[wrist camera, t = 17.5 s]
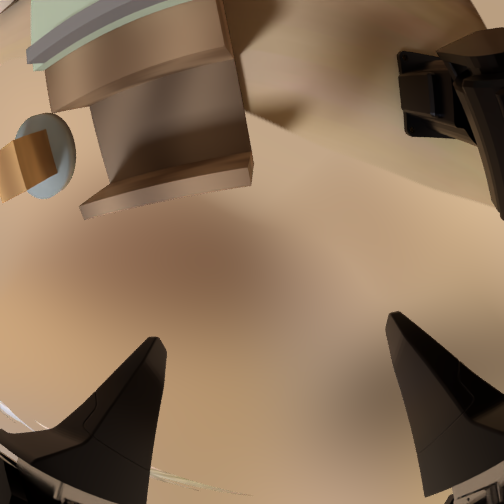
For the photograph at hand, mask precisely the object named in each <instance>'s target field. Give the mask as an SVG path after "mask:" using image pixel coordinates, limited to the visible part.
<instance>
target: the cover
mask: <svg viewBox="0 0 504 504" xmlns="http://www.w3.org/2000/svg"><path fill="white" fill-rule="evenodd" d="M188 1H192V0H31V46H30V47H29V48H28V49H27V50H26V54H27V64H33V70H34V71H44V70H45V69H47V68H48V67H50V66H51V65H53V64H54V63H56V62H57V61H59V60H60V59H62V58H63V57H65V56H66V55H68V54H69V53H71V52H73V51H74V50H76V49H78V48H79V47H81V46H83V45H85V44H86V43H88V42H90V41H92V40H94V39H96V38H97V37H99V36H101V35H103V34H105V33H107V32H109V31H111V30H113V29H116V28H118V27H120V26H122V25H124V24H127V23H129V22H131V21H134V20H136V19H138V18H141V17H143V16H146V15H149V14H151V13H154V12H157V11H160V10H163V9H166V8H169V7H172V6H175V5H178V4H181V3H185V2H188Z"/></svg>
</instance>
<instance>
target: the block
mask: <svg viewBox="0 0 504 504" xmlns="http://www.w3.org/2000/svg"><path fill="white" fill-rule="evenodd" d="M57 173H58V172H57V169H56V165H55V162H54V158H53V155H52V151H51V147H50V143H49V139H48V135H47V130H46V129H44V130H41V131H38V132H35V133H32V134H29V135H26V136H23V137H20V138H18V139H15V140H13V141H11V142H10V143H9V144H7V145H6V146H5V147H3V148H2V149H1V150H0V197H1V200H2V203H4V202H6V201H8V200H10V199H11V198H13V197H15V196H17V195H19V194H21V193H23V192H25V191H27V190H29V189H30V188H32V187H34V186H35V185H37V184H39V183H41V182H42V181H44V180H46V179H48V178H49V177H51V176H53V175H55V174H57Z"/></svg>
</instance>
